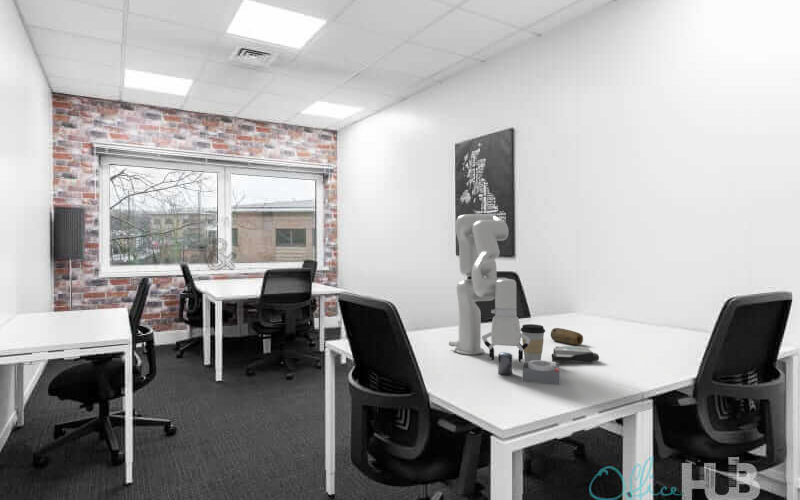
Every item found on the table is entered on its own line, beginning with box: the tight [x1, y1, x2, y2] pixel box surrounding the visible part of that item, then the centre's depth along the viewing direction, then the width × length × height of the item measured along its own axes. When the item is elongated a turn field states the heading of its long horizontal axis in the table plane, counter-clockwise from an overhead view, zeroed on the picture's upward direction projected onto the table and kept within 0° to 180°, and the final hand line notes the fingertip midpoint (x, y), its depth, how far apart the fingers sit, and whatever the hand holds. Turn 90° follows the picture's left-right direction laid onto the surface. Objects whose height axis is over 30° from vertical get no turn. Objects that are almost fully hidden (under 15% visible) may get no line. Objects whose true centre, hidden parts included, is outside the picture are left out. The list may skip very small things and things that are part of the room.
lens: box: [497, 352, 513, 377], centre depth 172 cm, size 5×5×7 cm
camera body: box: [522, 359, 560, 385], centre depth 165 cm, size 12×9×6 cm
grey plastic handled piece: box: [551, 345, 600, 364], centre depth 194 cm, size 16×20×5 cm
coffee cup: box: [520, 323, 546, 363], centre depth 186 cm, size 9×9×15 cm
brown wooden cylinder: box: [550, 327, 584, 346], centre depth 226 cm, size 15×7×7 cm, turn 39°
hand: (506, 360), depth 171 cm, fingers open, 9 cm apart
